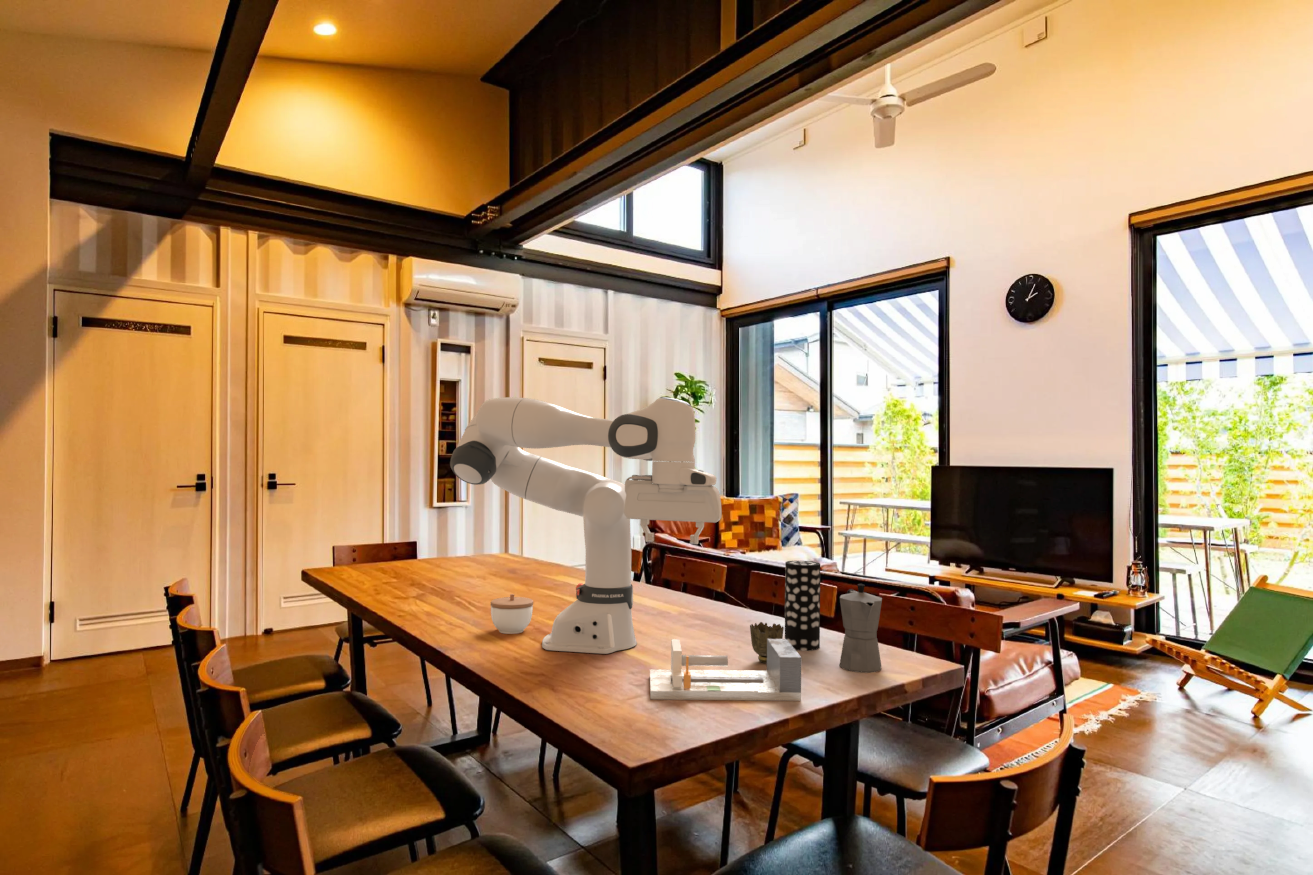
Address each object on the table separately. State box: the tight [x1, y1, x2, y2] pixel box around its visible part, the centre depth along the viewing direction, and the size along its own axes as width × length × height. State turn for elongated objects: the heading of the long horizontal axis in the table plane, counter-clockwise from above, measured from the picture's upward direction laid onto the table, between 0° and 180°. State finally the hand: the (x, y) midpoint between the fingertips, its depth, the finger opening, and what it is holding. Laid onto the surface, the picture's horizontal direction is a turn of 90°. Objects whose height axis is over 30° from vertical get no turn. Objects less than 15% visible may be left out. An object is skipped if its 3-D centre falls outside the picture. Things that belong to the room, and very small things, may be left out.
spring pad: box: [670, 638, 729, 687], centre depth 141 cm, size 11×12×6 cm
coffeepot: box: [839, 583, 883, 674], centre depth 160 cm, size 15×9×18 cm, turn 2°
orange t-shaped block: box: [683, 656, 691, 688], centre depth 136 cm, size 1×2×6 cm, turn 1°
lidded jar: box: [490, 593, 534, 635], centre depth 187 cm, size 11×11×9 cm
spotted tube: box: [784, 560, 821, 652], centre depth 176 cm, size 8×8×20 cm
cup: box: [749, 621, 785, 664], centre depth 162 cm, size 8×7×8 cm
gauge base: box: [649, 638, 802, 702], centre depth 142 cm, size 28×14×8 cm, turn 91°
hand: (671, 542), depth 151 cm, fingers open, 8 cm apart
